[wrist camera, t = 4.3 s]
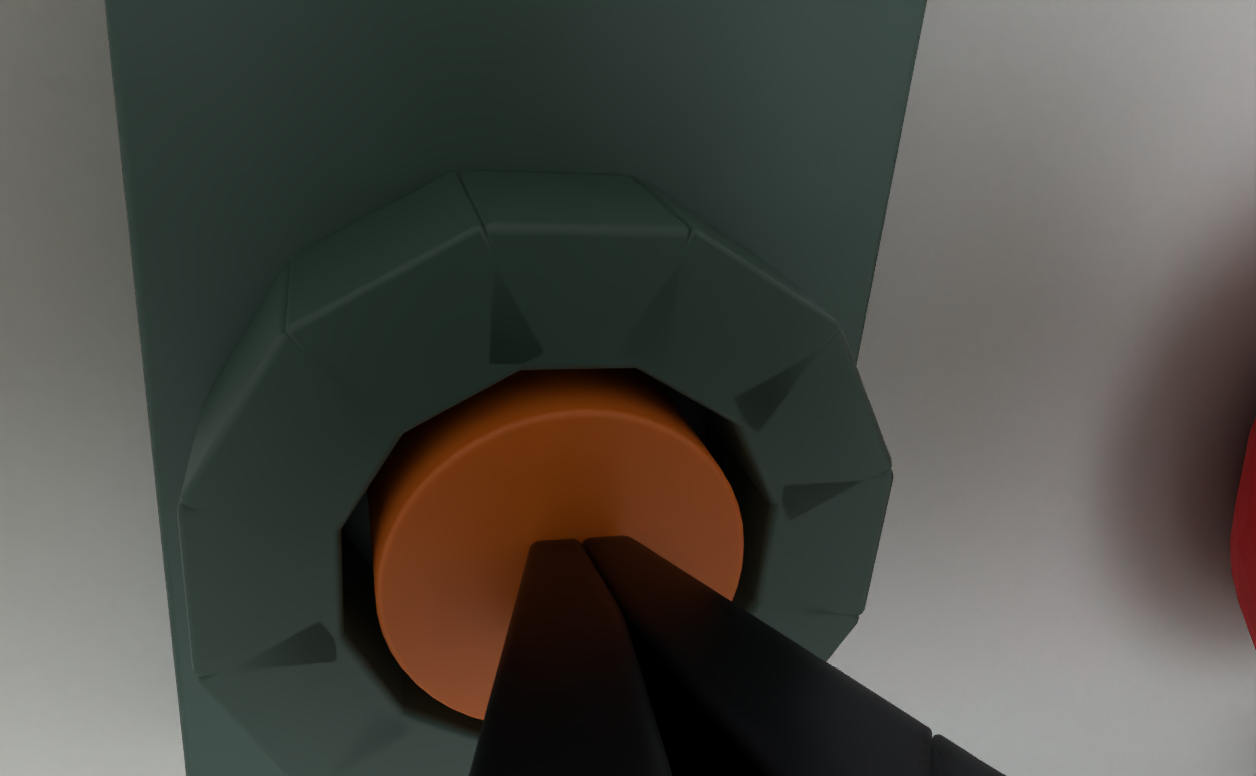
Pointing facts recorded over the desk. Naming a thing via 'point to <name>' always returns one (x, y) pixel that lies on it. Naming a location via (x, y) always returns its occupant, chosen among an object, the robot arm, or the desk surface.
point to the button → (533, 510)
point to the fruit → (1246, 537)
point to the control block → (485, 302)
